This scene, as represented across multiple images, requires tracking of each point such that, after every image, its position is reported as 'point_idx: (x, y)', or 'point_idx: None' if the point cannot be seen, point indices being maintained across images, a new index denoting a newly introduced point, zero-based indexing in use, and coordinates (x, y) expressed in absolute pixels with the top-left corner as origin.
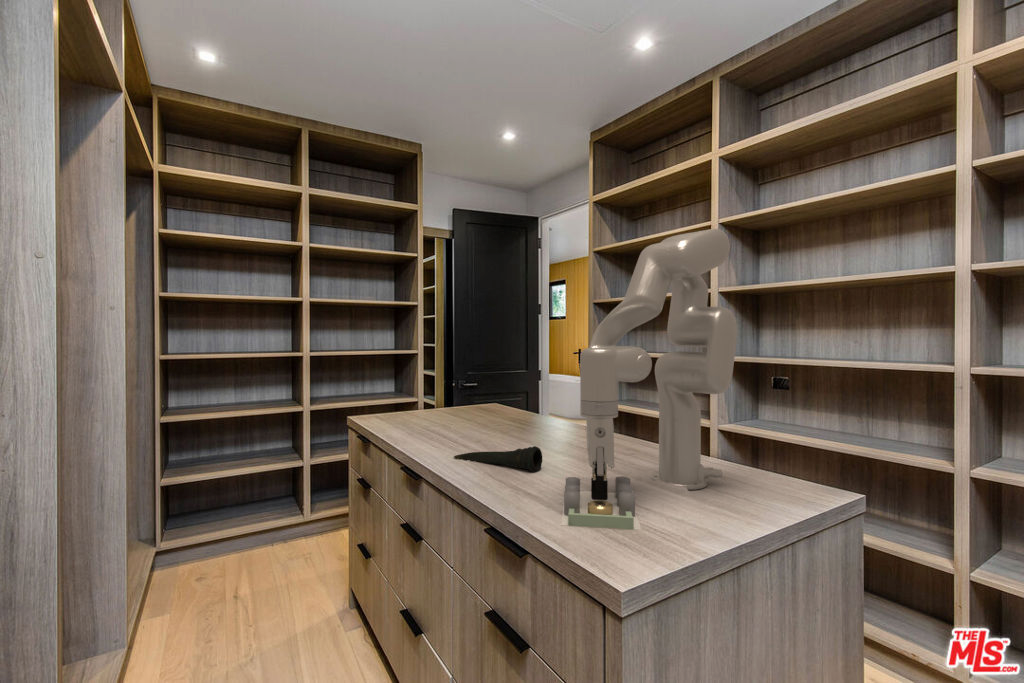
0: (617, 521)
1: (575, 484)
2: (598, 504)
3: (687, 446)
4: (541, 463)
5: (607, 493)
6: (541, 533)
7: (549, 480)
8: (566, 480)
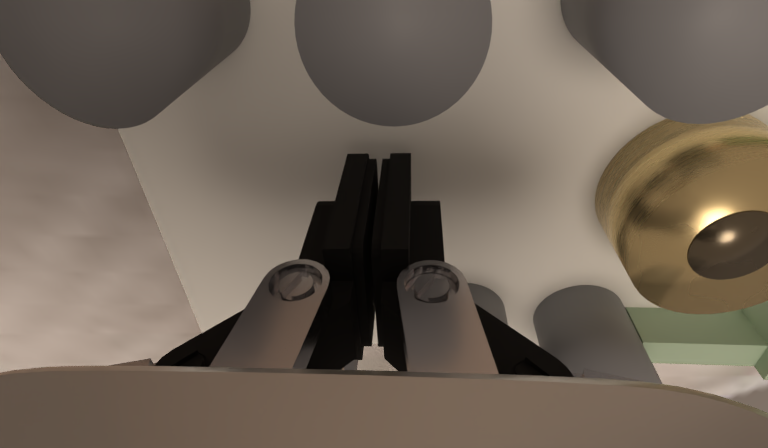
0: None
1: None
2: (736, 257)
3: None
4: None
5: (408, 175)
6: (715, 382)
7: (20, 368)
8: None
